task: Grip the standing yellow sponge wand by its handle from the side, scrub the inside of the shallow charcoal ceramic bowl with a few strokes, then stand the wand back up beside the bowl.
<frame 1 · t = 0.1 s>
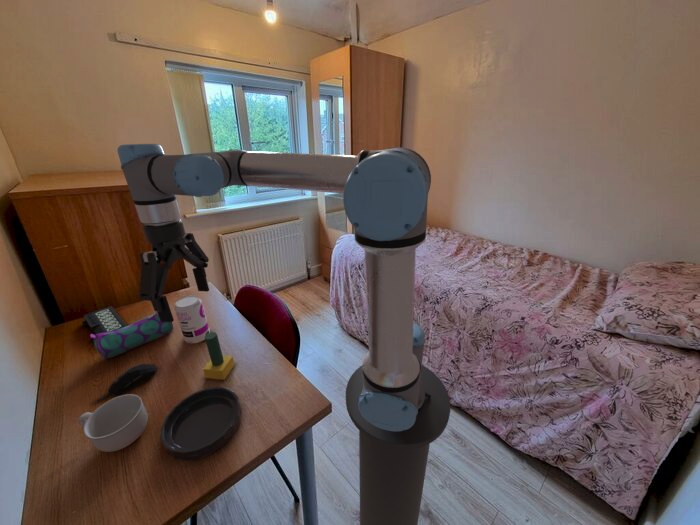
hand: (187, 304, 70), 27 cm above the table, tool pointing down, fingers open, 13 cm apart
digital display: (105, 327, 108), on the table
pencil case: (139, 344, 99), on the table
teacup: (120, 435, 69), on the table
supplement can: (198, 337, 101), on the table
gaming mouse: (129, 384, 83), on the table
sponge wand: (220, 371, 86), on the table
bowl: (205, 425, 70), on the table
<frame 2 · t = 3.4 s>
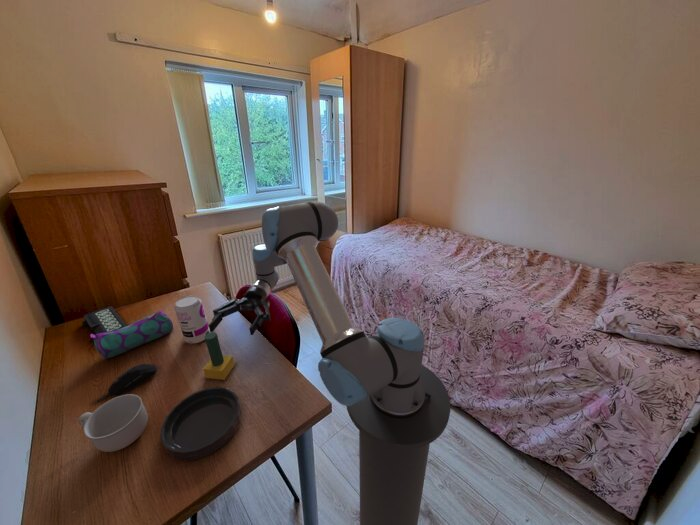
hand: (230, 330, 91), 9 cm above the table, tool horizontal, fingers open, 13 cm apart
nothing on the table moved.
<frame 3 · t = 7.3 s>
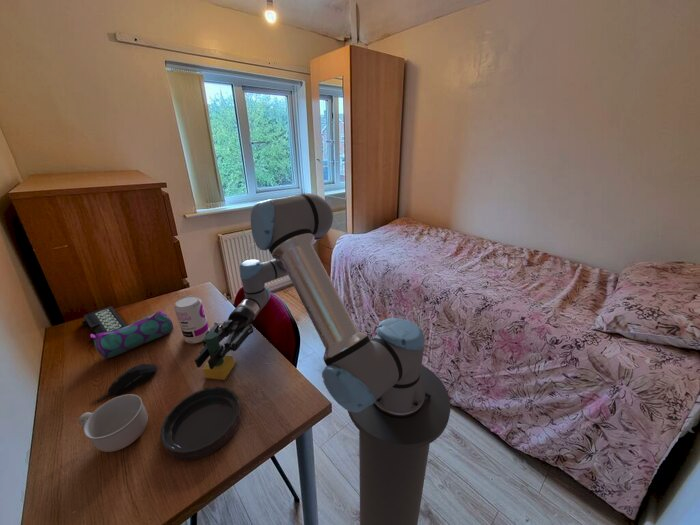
hand: (203, 364, 78), 8 cm above the table, tool horizontal, fingers closed on sponge wand, 3 cm apart
sponge wand: (220, 371, 86), on the table, touching gripper
everything else where it was.
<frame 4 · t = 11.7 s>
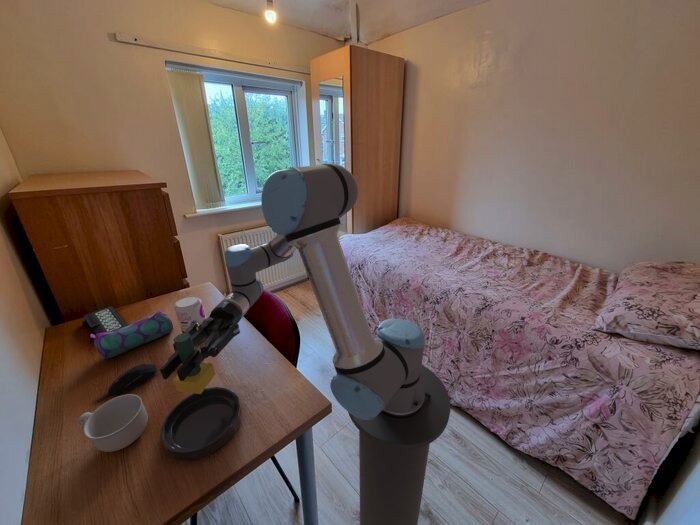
hand: (171, 375, 60), 20 cm above the table, tool horizontal, fingers closed on sponge wand, 3 cm apart
sponge wand: (197, 382, 68), point 12 cm above the table, touching gripper
everything else where it was.
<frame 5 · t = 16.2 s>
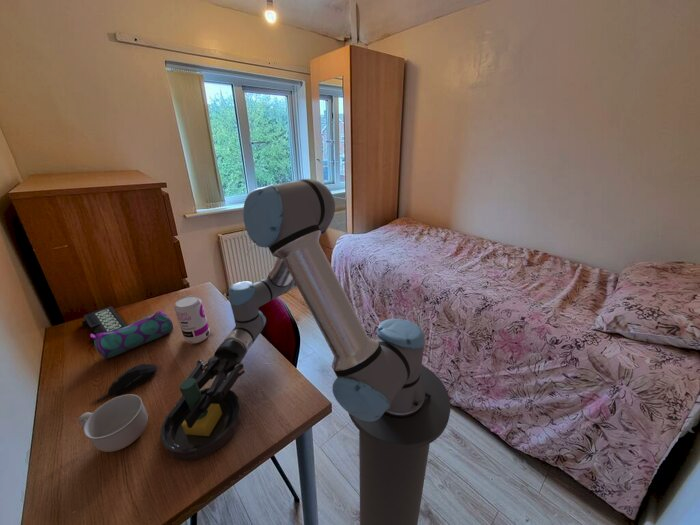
hand: (179, 422, 62), 9 cm above the table, tool horizontal, fingers closed on sponge wand, 3 cm apart
sponge wand: (204, 423, 70), point 1 cm above the table, touching bowl, gripper
everything else where it was.
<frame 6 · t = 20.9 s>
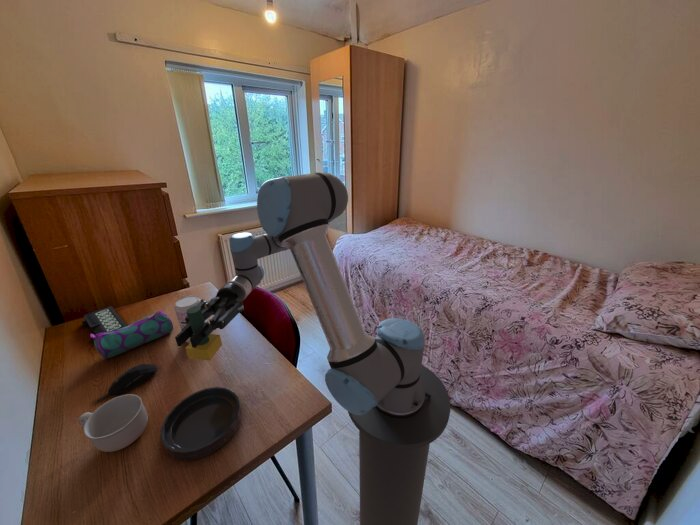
hand: (185, 342, 68), 20 cm above the table, tool horizontal, fingers closed on sponge wand, 3 cm apart
sponge wand: (206, 351, 77), point 12 cm above the table, touching gripper
everything else where it was.
when the fingers open (8 cm above the table, at t = 24.9 s): sponge wand stays where it is, on the table.
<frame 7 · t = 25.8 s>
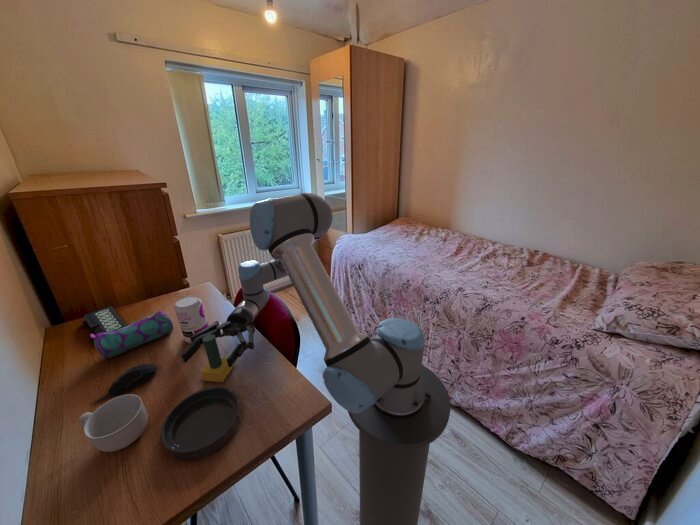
hand: (206, 361, 79), 8 cm above the table, tool horizontal, fingers open, 13 cm apart
sponge wand: (218, 373, 86), on the table
everything else where it was.
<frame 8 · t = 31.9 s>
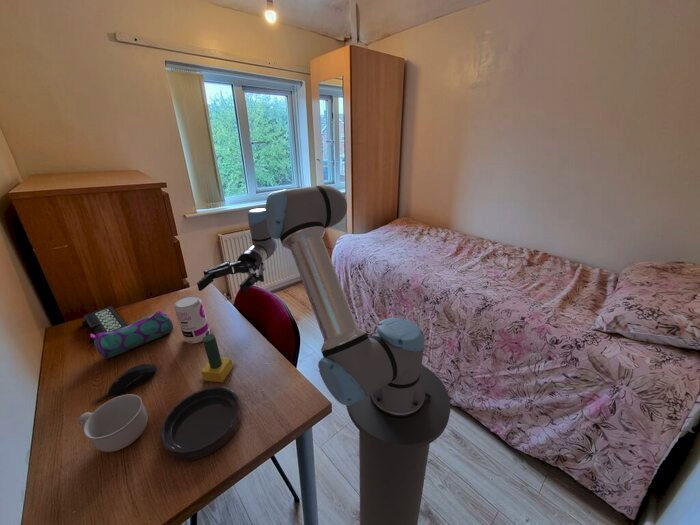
hand: (219, 288, 84), 24 cm above the table, tool horizontal, fingers open, 13 cm apart
nothing on the table moved.
at the end: sponge wand inside the target area (0.0 cm from its centre), on the table; sponge wand tilted 0°; the gripper is holding nothing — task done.
